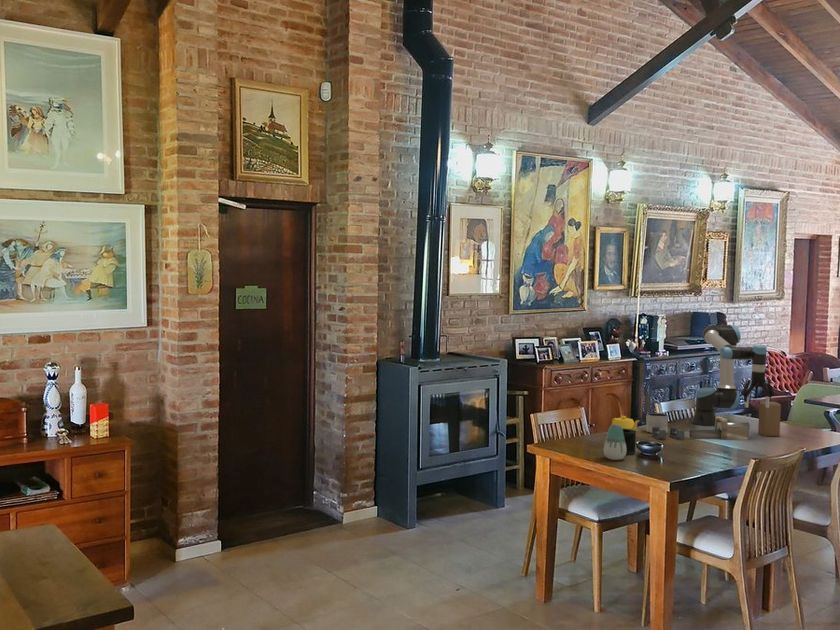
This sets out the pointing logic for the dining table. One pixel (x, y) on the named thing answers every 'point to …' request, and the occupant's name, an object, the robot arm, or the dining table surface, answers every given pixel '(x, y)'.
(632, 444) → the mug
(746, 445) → the dining table surface
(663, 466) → the dining table surface
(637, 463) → the dining table surface
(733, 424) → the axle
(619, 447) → the vase
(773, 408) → the wooden block
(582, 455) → the dining table surface
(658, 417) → the planter
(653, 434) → the v block
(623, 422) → the teapot
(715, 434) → the beam
